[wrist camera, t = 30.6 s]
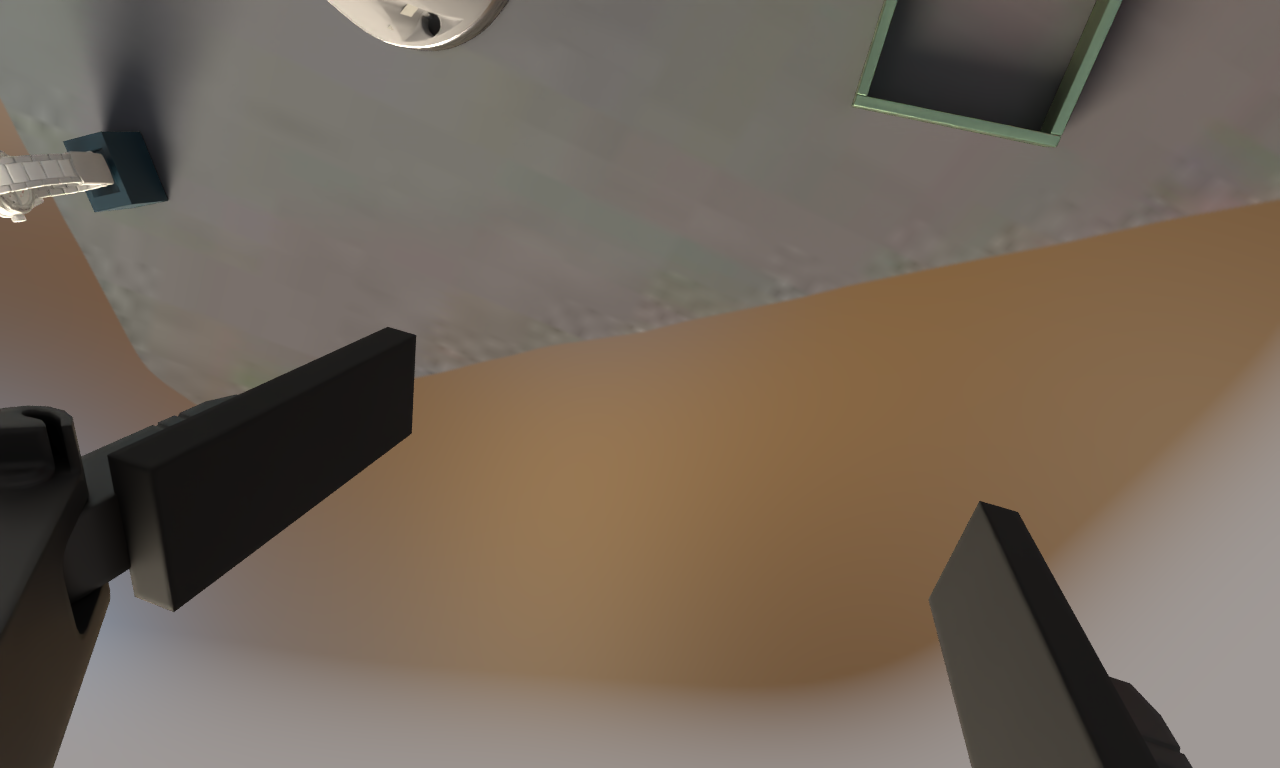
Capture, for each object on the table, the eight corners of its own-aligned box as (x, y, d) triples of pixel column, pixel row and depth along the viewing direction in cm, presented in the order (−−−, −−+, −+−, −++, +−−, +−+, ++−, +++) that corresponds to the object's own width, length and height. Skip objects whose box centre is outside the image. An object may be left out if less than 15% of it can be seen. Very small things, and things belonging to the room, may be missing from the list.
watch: (87, 145, 52) (-81, 147, 43) (155, 127, 50) (-5, 126, 40) (116, 212, 54) (-38, 229, 44) (183, 198, 52) (36, 213, 42)
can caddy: (851, 106, 37) (853, 105, 36) (921, -120, 33) (928, -135, 31) (1044, 146, 36) (1056, 147, 34) (1147, -86, 31) (1167, -100, 29)
